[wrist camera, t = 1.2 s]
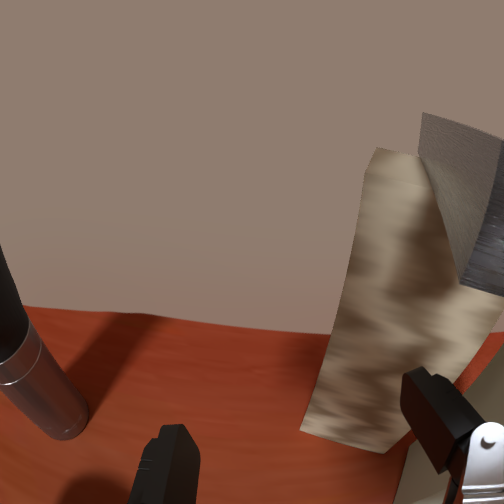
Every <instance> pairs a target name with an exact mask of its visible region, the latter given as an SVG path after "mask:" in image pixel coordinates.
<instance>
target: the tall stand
mask: <svg viewBox="0 0 504 504" xmlns="http://www.w3.org/2000/svg"><path fill="white" fill-rule="evenodd" d="M503 310H504V297H501V296H497V295H494V294H491V293H487V292H484V291H481V290H477V289H474V288H471V287H467V286H464V285H460V284H459V281H458V276H457V271H456V267H455V263H454V258H453V254H452V250H451V246H450V243H449V239H448V235H447V232H446V228H445V225H444V222H443V219H442V215H441V212H440V209H439V206H438V203H437V200H436V197H435V195H434V192H433V189H432V186H431V184H430V181H429V178H428V176H427V173H426V171H425V168H424V166H423V163H422V161H421V159H420V157H416V156H413V155H409V154H404V153H400V152H396V151H391V150H387V149H383V148H378V147H377V148H376V150H375V152H374V154H373V157H372V158H371V161H370V163H369V165H368V167H367V169H366V171H365V175H364V182H363V189H362V195H361V202H360V208H359V214H358V219H357V225H356V231H355V236H354V241H353V246H352V251H351V256H350V260H349V265H348V269H347V274H346V279H345V283H344V287H343V291H342V295H341V299H340V303H339V307H338V311H337V315H336V319H335V322H334V326H333V330H332V333H331V337H330V340H329V344H328V347H327V350H326V354H325V357H324V360H323V364H322V367H321V370H320V373H319V376H318V379H317V382H316V385H315V388H314V391H313V394H312V397H311V400H310V403H309V406H308V408H307V411H306V414H305V417H304V419H303V422H302V425H301V427H300V430H301V431H304V432H307V433H310V434H313V435H316V436H319V437H322V438H325V439H328V440H332V441H335V442H338V443H342V444H345V445H349V446H353V447H356V448H360V449H364V450H368V451H372V452H377V453H381V454H384V453H385V452H386V451H388V450H389V449H390V448H391V447H392V446H393V445H394V444H396V443H397V442H398V441H399V440H400V439H401V438H402V437H403V436H404V435H405V434H406V433H408V432H409V431H410V430H411V428H410V426H409V424H408V423H407V421H406V419H405V418H404V416H403V414H402V412H401V408H400V394H401V384H402V376H403V374H404V373H406V372H408V371H411V370H413V369H416V368H418V367H420V366H423V367H424V368H425V369H426V370H427V371H428V372H429V373H430V374H431V376H432V375H434V374H439V375H441V376H444V377H446V378H448V379H449V380H450V381H451V382H452V384H453V383H454V382H455V380H456V379H457V378H458V377H459V375H460V374H461V373H462V372H463V370H464V369H465V368H466V366H467V365H468V364H469V362H470V361H471V360H472V358H473V357H474V355H475V354H476V353H477V351H478V350H479V348H480V347H481V345H482V344H483V342H484V341H485V339H486V338H487V336H488V335H489V333H490V332H491V330H492V328H493V327H494V325H495V324H496V322H497V320H498V318H499V317H500V315H501V313H502V312H503Z"/></svg>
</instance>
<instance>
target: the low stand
mask: <svg viewBox="0 0 504 504" xmlns="http://www.w3.org/2000/svg"><path fill="white" fill-rule="evenodd" d="M462 396H464V397H465V398H466V399H467V401H468V402H469V403H470V404H471V405H472V406H473V408H474V409H475V410H476V411H477V412H478V413H479V415H480V416H481V417H482V418H483V419H484V420H485V421H486V422H487V423H489V422H494V423H498V424H500V425H502V426H504V343H503V345H502V346H501V348H500V349H499V351H498V352H497V353H496V355H495V356H494V357H493V359H492V360H491V361H490V363H489V364H488V365H487V367H486V368H485V369H484V370H483V372H482V373H481V374H480V375H479V377H478V378H477V379H476V380H475V381H474V383H473V384H472V385H471V386H470V387H469V388H468V389H467V391H466V392H465V393H464V394H463V395H462ZM450 476H451V475H450V473H449V471H448V470H447V471H445V472H443V473H441V474H440V475H438V474H437V472H436V470H435V468H434V467H433V465H432V463H431V461H430V460H429V458H428V456H427V455H426V453H425V451H424V449H423V448H422V446H421V444H420V443H419V441H418V439H417V440H416V441H415V442H413V443H412V444H411V445H410V446H409V449H408V453H407V458H406V462H405V465H404V469H403V473H402V476H401V480H400V483H399V487H398V490H397V493H396V496H395V499H394V502H393V504H442V503H443V500H444V496H445V493H446V489H447V486H448V482H449V478H450Z"/></svg>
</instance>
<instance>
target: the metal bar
mask: <svg viewBox="0 0 504 504" xmlns="http://www.w3.org/2000/svg"><path fill="white" fill-rule="evenodd" d="M421 123H422V124H421V131H420V139H419V147H418V154H419V156H420V159H421V161H422V163H423V166H424V168H425V171H426V173H427V176H428V178H429V181H430V184H431V186H432V189H433V192H434V195H435V197H436V200H437V203H438V206H439V209H440V212H441V215H442V219H443V222H444V225H445V228H446V232H447V235H448V239H449V243H450V246H451V250H452V254H453V258H454V263H455V267H456V271H457V276H458V281H459V284H460V285H464V286H467V287H471V288H474V289H477V290H481V291H484V292H487V293H491V294H494V295H497V296H501V297H504V139H501V138H499V137H497V136H494V135H492V134H489V133H487V132H484V131H481V130H479V129H476V128H473V127H471V126H468V125H465V124H462V123H458V122H455V121H452V120H449V119H445V118H442V117H438V116H435V115H431V114H427V113H422V122H421Z"/></svg>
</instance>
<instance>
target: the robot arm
mask: <svg viewBox="0 0 504 504" xmlns="http://www.w3.org/2000/svg"><path fill="white" fill-rule="evenodd" d="M0 390H1V391H2V392H3V393H4V394H5V395H6V396H7V397H8V399H9V400H10V401H11V402H12V403H13V404H14V405H15V406H16V407H17V408H18V409H19V410H20V411H22V412H23V413H24V414H25V415H26V416H27V417H28V418H29V419H30V420H31V421H32V422H33V423H34V424H36V425H37V426H38V427H39V428H40V429H41V430H43V431H44V432H45V433H46V434H47V435H49V436H50V437H52V438H54V439H57V440H68V439H72V438H74V437H75V436H77V435H78V434H79V433H81V431H82V430H83V429H84V427H85V425H86V423H87V420H88V412H89V411H88V406H87V403H86V401H85V399H84V398H83V397H82V395H81V394H80V393H79V392H78V390H77V389H76V388H75V386H74V385H73V384H72V382H71V381H70V380H69V378H68V377H67V376H66V374H65V373H64V372H63V370H62V369H61V367H60V366H59V365H58V363H57V362H56V360H55V359H54V357H53V356H52V354H51V353H50V351H49V350H48V348H47V347H46V345H45V344H44V342H43V341H42V339H41V337H40V336H39V334H38V333H37V331H36V329H35V328H34V326H33V324H32V323H31V321H30V319H29V317H28V315H27V313H26V312H25V310H24V308H23V305H22V303H21V300H20V297H19V294H18V291H17V288H16V285H15V283H14V280H13V278H12V276H11V273H10V271H9V269H8V266H7V263H6V260H5V258H4V255H3V252H2V249H1V246H0ZM400 408H401V412H402V414H403V416H404V418H405V419H406V421H407V423H408V424H409V426H410V428H411V429H412V431H413V432H414V434H415V436H416V438H417V439H418V441H419V443H420V444H421V446H422V448H423V449H424V451H425V453H426V455H427V456H428V458H429V460H430V461H431V463H432V465H433V467H434V468H435V470H436V472H437V474H438V475H440V474H441V473H443V472H445V471H447V470H448V471H449V473H450V475H451V476H450V478H449V482H448V486H447V489H446V493H445V496H444V500H443V503H442V504H504V426H502V425H500V424H498V423H494V422H489V423H487V422H486V421H485V420H484V419H483V418H482V417H481V416H480V415H479V413H478V412H477V411H476V410H475V409H474V408H473V406H472V405H471V404H470V403H469V402H468V401H467V399H466V398H465V397H464V396H462V394H461V393H460V391H459V390H458V389H456V387H455V386H454V385H453V384H452V382H451V381H450V380H449V379H448V378H446V377H444V376H441V375H439V374H434V375H432V376H431V374H430V373H429V372H428V371H427V370H426V369H425V368H424V367H423V366H420V367H418V368H416V369H413V370H411V371H408V372H406V373H404V374H403V376H402V384H401V394H400ZM138 468H139V470H137V473H136V477H135V480H134V484H133V487H132V490H131V494H130V497H129V501H128V503H127V504H196V495H197V487H198V478H199V469H200V452H199V449H198V447H197V445H196V444H195V442H194V440H193V439H192V437H191V436H190V434H189V432H188V431H187V429H186V427H185V426H184V425H183V424H174V425H163V426H162V427H161V429H160V432H159V436H158V438H152V439H151V440H150V442H149V443H148V444H147V445H146V447H145V448H144V450H143V454H142V457H141V461H140V463H139V467H138Z"/></svg>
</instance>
